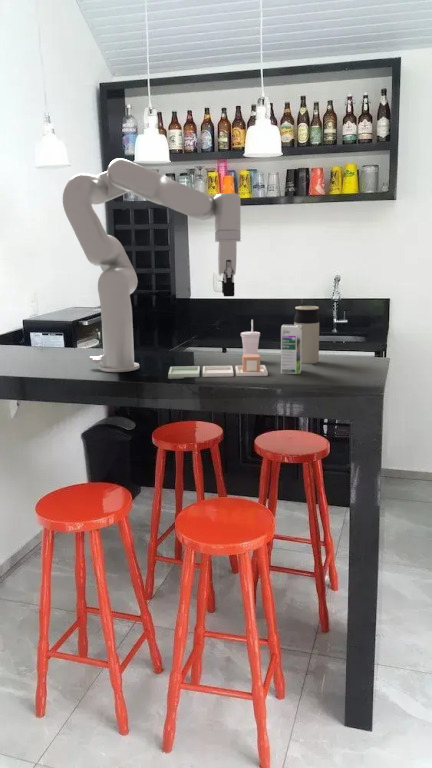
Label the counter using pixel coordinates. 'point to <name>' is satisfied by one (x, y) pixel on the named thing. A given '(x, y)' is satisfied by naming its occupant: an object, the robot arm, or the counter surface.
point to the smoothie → (250, 341)
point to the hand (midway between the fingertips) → (228, 294)
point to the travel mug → (308, 332)
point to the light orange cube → (250, 363)
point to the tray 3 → (262, 372)
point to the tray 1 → (183, 372)
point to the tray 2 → (217, 371)
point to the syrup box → (291, 349)
